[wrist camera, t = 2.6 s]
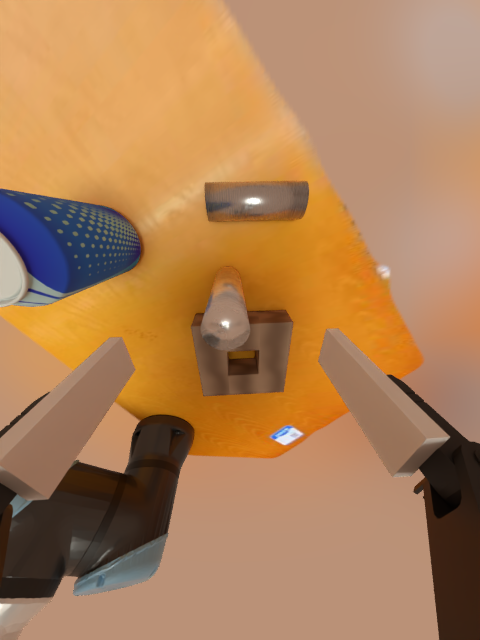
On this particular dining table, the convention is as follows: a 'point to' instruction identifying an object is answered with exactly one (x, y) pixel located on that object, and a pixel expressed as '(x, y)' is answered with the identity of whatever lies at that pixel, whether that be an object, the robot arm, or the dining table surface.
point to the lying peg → (256, 200)
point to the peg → (226, 312)
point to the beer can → (59, 247)
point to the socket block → (251, 373)
